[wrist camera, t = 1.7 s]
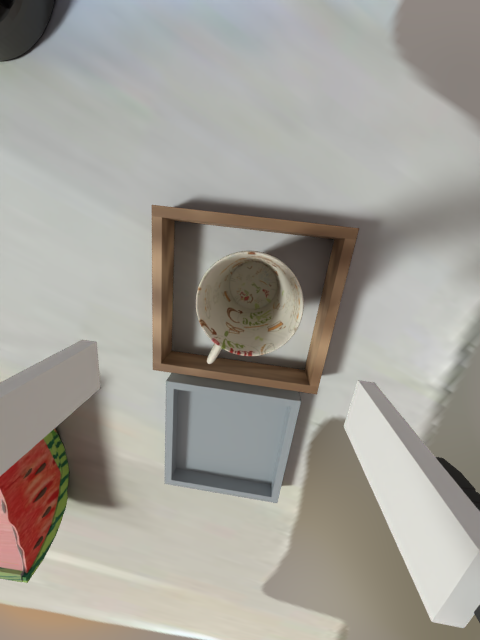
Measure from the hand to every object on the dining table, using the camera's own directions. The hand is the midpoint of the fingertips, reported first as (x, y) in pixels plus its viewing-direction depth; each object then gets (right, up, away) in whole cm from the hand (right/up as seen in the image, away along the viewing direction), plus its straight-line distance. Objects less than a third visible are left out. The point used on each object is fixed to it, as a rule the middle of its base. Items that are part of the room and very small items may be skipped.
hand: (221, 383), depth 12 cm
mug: (+1, +6, +16) cm, 17 cm away
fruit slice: (-31, -19, +27) cm, 45 cm away
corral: (+1, +6, +16) cm, 17 cm away
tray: (-1, -13, +23) cm, 26 cm away
